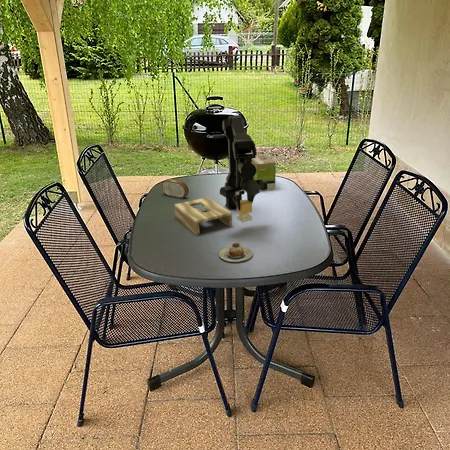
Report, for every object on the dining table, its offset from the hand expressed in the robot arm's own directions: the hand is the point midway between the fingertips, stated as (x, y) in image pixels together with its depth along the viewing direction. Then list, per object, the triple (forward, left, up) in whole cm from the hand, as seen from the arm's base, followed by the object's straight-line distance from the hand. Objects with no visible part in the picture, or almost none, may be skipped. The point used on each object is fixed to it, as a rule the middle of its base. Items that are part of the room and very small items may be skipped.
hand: (244, 208), depth 172 cm
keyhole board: (+11, -16, -9) cm, 21 cm away
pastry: (+14, +18, -9) cm, 25 cm away
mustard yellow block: (0, 0, -5) cm, 5 cm away
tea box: (-35, -41, -9) cm, 55 cm away
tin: (+8, -52, -9) cm, 54 cm away
